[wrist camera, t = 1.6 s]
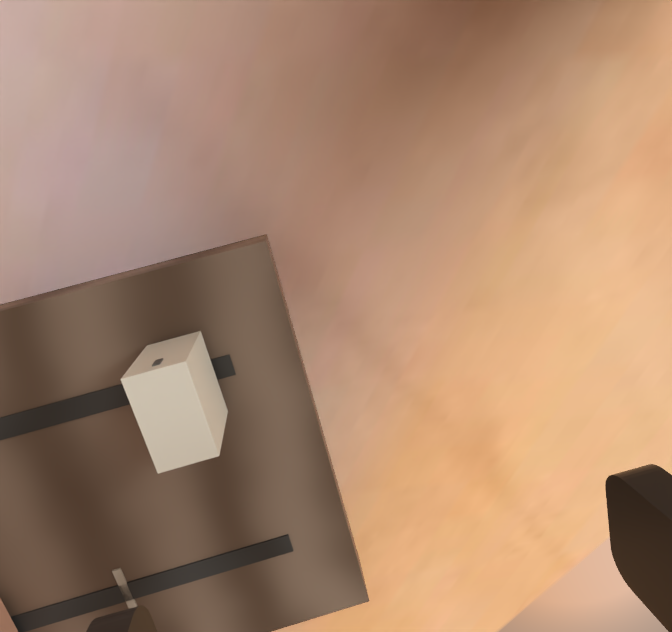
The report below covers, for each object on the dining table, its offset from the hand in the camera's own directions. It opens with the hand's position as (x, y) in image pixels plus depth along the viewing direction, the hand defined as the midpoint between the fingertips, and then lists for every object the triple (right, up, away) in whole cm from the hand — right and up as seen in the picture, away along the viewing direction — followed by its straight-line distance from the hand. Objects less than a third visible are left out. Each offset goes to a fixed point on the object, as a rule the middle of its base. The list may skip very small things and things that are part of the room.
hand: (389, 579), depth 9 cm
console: (-13, -4, +18) cm, 23 cm away
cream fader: (-8, +2, +14) cm, 16 cm away
